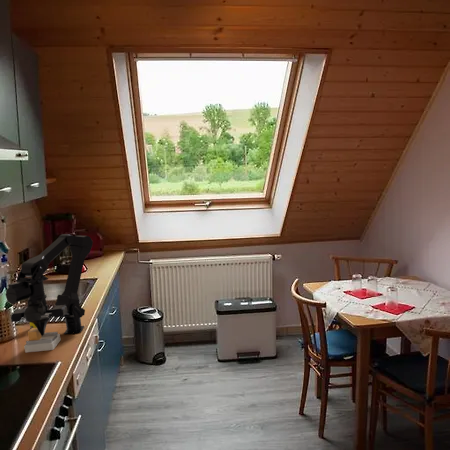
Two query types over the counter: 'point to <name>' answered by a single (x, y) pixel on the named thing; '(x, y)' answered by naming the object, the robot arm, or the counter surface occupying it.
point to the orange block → (34, 334)
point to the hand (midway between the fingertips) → (42, 335)
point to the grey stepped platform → (43, 342)
